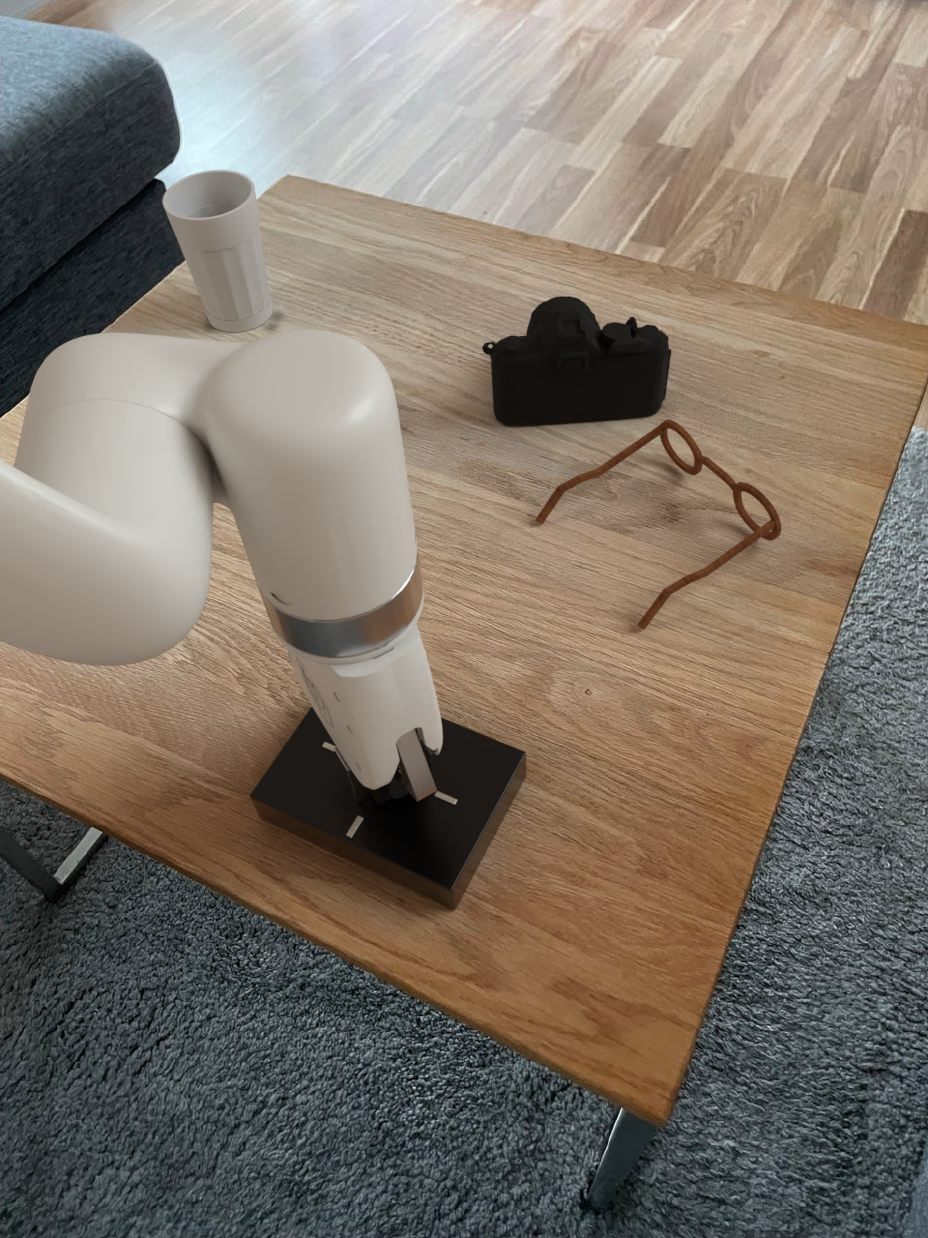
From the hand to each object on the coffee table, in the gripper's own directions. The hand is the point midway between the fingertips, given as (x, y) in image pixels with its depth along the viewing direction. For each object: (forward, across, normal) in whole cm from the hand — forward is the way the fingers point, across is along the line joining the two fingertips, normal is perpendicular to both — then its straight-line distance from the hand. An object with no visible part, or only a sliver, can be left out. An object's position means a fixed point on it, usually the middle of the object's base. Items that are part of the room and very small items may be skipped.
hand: (387, 772), depth 62 cm
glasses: (+3, -8, +27) cm, 29 cm away
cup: (+3, -53, +12) cm, 55 cm away
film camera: (+3, -26, +32) cm, 41 cm away
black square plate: (+3, 0, 0) cm, 3 cm away
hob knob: (0, 0, 0) cm, 0 cm away
